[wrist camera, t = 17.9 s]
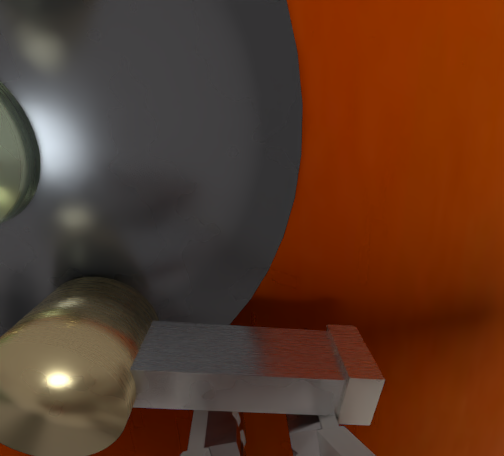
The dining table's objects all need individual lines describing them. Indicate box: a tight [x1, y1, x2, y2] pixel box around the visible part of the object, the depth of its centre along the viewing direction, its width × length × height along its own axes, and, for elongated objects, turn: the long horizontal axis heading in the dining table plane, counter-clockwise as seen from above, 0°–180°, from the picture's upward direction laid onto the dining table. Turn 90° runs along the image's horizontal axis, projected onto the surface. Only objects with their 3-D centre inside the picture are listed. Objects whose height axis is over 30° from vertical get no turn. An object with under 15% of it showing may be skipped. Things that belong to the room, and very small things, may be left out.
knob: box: [0, 277, 385, 456], centre depth 9 cm, size 11×4×3 cm, turn 85°
